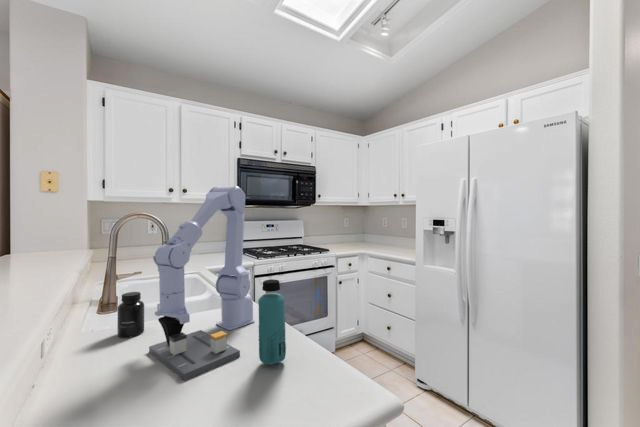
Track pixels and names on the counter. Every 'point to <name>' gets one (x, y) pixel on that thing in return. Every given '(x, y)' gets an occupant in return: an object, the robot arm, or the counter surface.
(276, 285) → the beverage bottle
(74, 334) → the counter surface
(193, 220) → the robot arm
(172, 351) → the fader black
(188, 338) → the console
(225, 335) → the fader orange
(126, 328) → the supplement bottle
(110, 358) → the counter surface
